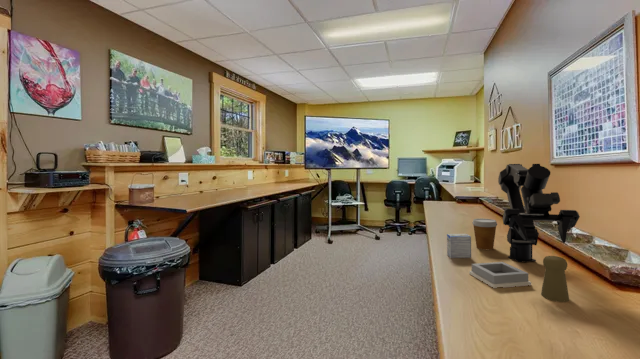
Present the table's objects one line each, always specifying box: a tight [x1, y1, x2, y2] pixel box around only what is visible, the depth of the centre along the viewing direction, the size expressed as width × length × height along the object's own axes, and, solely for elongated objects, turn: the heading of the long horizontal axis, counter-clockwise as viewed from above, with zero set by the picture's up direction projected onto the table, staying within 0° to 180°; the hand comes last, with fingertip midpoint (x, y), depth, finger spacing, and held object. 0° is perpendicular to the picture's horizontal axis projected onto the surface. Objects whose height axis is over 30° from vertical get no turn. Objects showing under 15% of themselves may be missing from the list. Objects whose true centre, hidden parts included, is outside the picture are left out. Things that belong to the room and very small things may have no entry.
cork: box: [540, 255, 570, 303], centre depth 82 cm, size 6×6×11 cm
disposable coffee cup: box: [471, 218, 498, 251], centre depth 129 cm, size 10×10×12 cm
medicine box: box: [446, 233, 472, 259], centre depth 119 cm, size 8×4×9 cm, turn 84°
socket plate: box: [468, 261, 532, 289], centre depth 95 cm, size 12×12×4 cm
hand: (545, 241), depth 88 cm, fingers open, 9 cm apart
